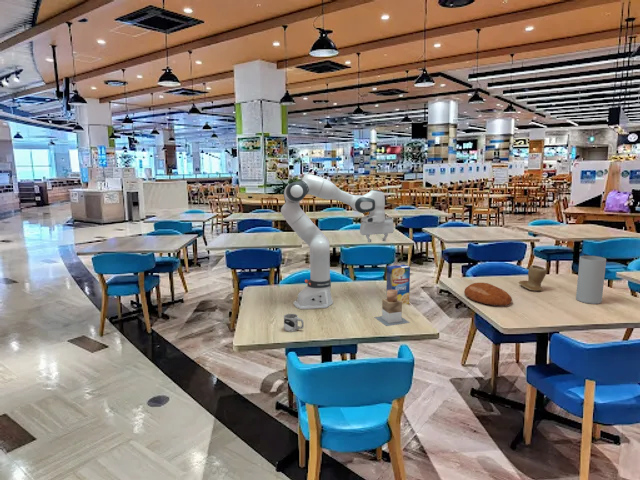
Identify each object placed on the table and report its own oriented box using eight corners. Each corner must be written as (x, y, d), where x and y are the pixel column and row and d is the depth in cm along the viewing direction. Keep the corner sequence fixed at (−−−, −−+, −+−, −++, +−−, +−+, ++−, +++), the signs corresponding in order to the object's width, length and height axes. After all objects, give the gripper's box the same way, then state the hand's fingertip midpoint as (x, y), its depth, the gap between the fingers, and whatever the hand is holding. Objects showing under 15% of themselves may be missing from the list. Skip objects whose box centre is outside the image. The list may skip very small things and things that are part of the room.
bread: (488, 309, 227) (489, 294, 226) (453, 293, 257) (454, 279, 256) (522, 305, 234) (523, 290, 232) (484, 289, 264) (485, 276, 262)
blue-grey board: (386, 329, 201) (386, 326, 201) (374, 320, 213) (374, 317, 213) (409, 325, 206) (410, 322, 205) (396, 316, 218) (396, 314, 217)
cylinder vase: (576, 296, 248) (580, 254, 244) (602, 299, 241) (606, 257, 236) (574, 301, 238) (578, 258, 234) (601, 305, 231) (606, 261, 226)
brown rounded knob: (390, 302, 204) (390, 292, 204) (385, 299, 209) (385, 290, 208) (399, 301, 206) (399, 291, 205) (394, 298, 211) (394, 289, 210)
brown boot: (548, 292, 257) (550, 268, 254) (529, 292, 257) (531, 268, 254) (536, 285, 271) (537, 262, 269) (517, 285, 272) (519, 262, 269)
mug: (281, 330, 201) (281, 317, 200) (287, 325, 207) (287, 313, 206) (301, 333, 198) (300, 320, 196) (306, 328, 204) (306, 315, 203)
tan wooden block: (389, 313, 204) (389, 303, 203) (382, 308, 211) (382, 299, 210) (401, 311, 206) (401, 301, 205) (394, 307, 213) (394, 297, 212)
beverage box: (409, 305, 236) (410, 267, 232) (391, 307, 232) (392, 268, 229) (403, 301, 242) (404, 264, 238) (386, 303, 239) (386, 266, 235)
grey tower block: (388, 323, 205) (389, 313, 204) (382, 318, 211) (382, 308, 211) (401, 321, 207) (401, 311, 206) (394, 316, 214) (394, 307, 213)
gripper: (390, 216, 248) (390, 239, 250) (358, 218, 242) (358, 242, 244) (395, 217, 242) (395, 241, 245) (363, 219, 236) (363, 243, 238)
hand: (376, 241), depth 244 cm, fingers open, 8 cm apart
